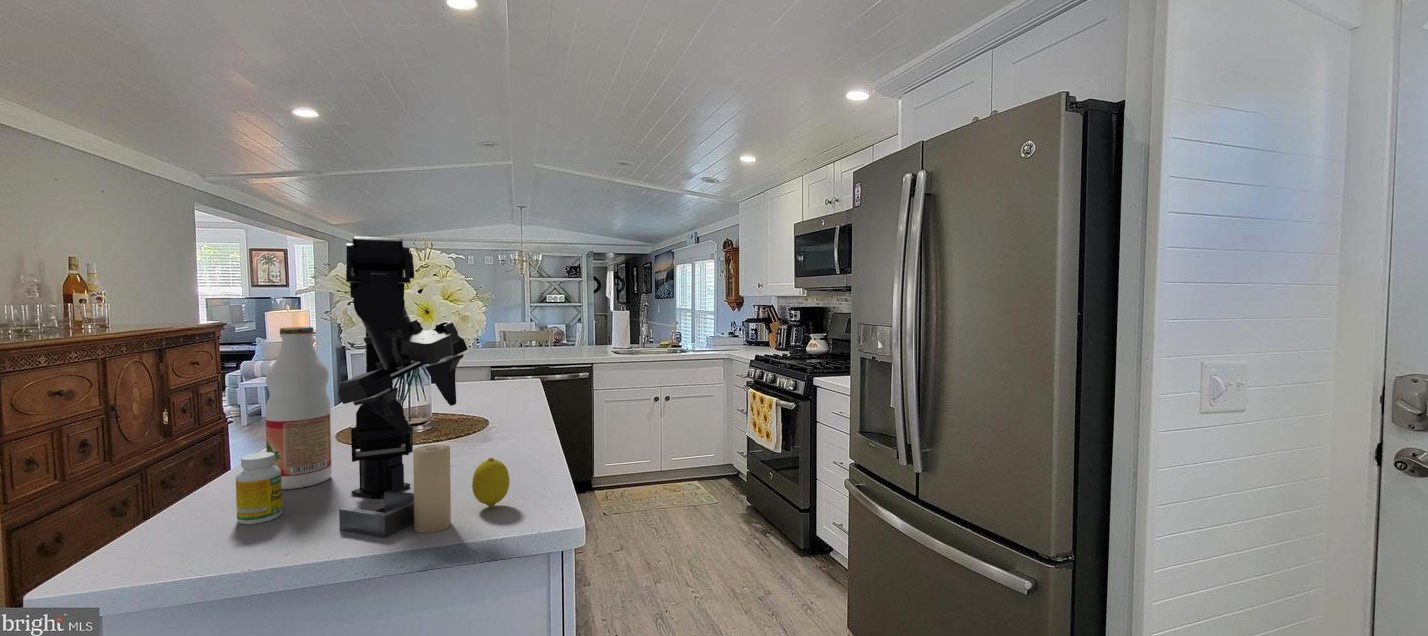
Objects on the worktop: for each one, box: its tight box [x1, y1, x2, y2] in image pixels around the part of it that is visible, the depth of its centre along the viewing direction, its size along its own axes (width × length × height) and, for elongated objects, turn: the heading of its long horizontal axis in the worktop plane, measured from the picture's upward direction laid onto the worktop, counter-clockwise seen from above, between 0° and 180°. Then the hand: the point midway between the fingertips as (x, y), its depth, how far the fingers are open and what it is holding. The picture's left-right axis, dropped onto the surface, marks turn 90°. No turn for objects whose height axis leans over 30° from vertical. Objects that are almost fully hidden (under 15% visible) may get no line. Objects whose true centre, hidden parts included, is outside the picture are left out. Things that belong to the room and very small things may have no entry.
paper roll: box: [412, 443, 452, 534], centre depth 83 cm, size 5×5×12 cm
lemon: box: [471, 457, 510, 508], centre depth 90 cm, size 6×6×8 cm
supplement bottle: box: [235, 451, 283, 525], centre depth 85 cm, size 5×5×10 cm
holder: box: [338, 490, 414, 539], centre depth 84 cm, size 8×8×3 cm
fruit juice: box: [264, 326, 332, 490], centre depth 102 cm, size 9×9×28 cm
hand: (431, 418), depth 85 cm, fingers open, 9 cm apart
